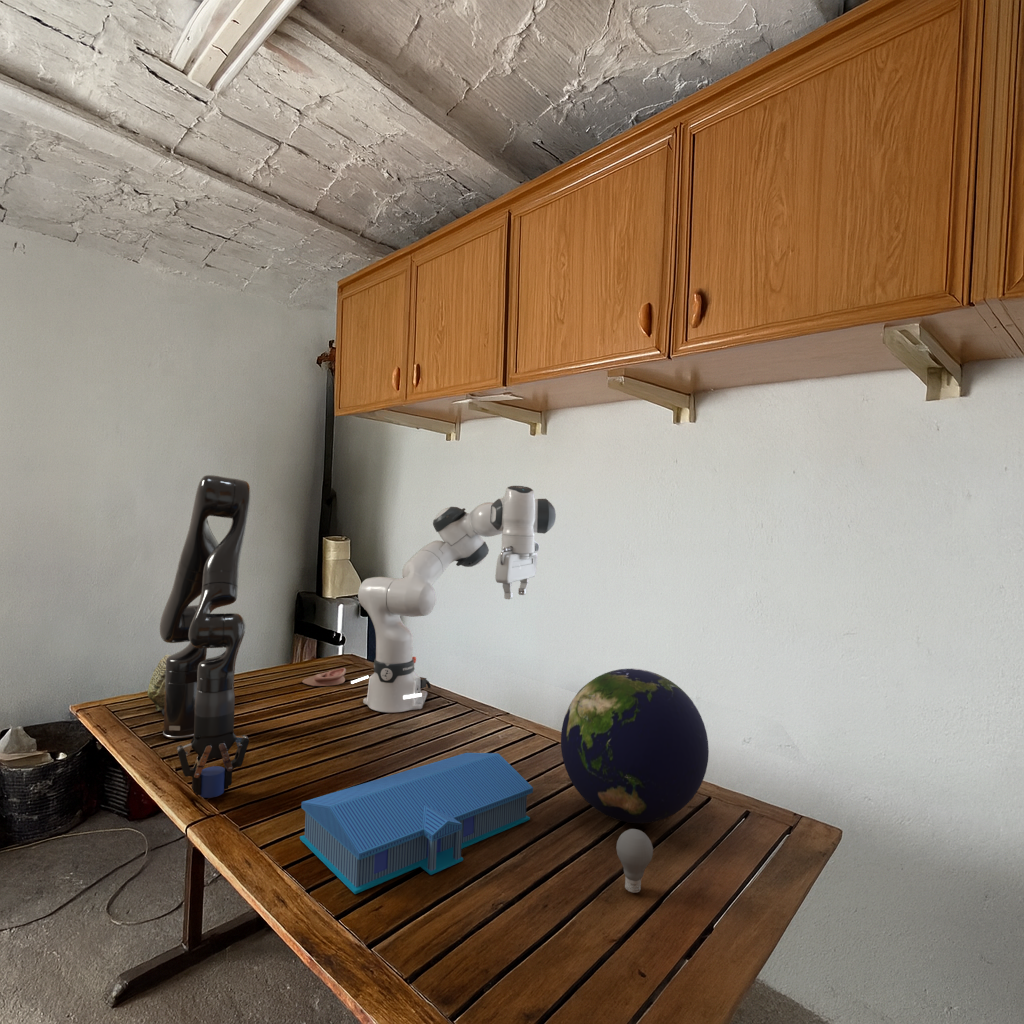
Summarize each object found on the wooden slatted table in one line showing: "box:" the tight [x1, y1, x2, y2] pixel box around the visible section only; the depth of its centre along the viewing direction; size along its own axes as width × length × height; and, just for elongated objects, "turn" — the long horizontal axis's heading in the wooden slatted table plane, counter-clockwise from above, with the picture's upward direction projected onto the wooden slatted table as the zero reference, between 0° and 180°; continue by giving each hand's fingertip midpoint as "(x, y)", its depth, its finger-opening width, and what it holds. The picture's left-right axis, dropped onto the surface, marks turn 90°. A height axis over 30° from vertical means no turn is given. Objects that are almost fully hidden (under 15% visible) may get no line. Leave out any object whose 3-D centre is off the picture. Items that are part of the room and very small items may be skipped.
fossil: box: [147, 654, 172, 712], centre depth 185 cm, size 9×18×15 cm, turn 132°
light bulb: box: [615, 828, 654, 894], centre depth 106 cm, size 6×6×10 cm
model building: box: [299, 752, 534, 895], centre depth 121 cm, size 39×24×10 cm, turn 132°
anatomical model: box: [301, 667, 347, 687], centre depth 214 cm, size 13×4×12 cm
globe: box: [560, 668, 710, 824], centre depth 131 cm, size 30×30×30 cm
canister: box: [199, 765, 225, 799], centre depth 132 cm, size 5×5×5 cm
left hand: (212, 790), depth 132 cm, fingers closed on canister, 4 cm apart
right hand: (515, 596), depth 171 cm, fingers open, 8 cm apart
